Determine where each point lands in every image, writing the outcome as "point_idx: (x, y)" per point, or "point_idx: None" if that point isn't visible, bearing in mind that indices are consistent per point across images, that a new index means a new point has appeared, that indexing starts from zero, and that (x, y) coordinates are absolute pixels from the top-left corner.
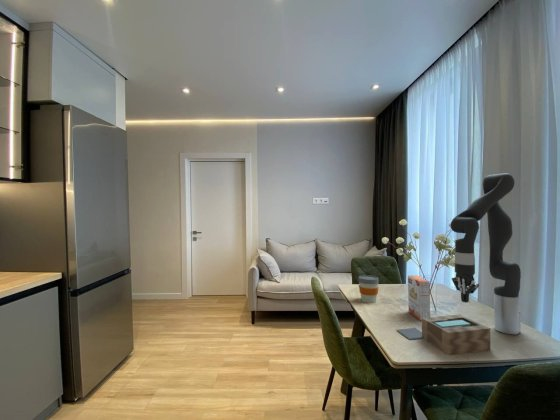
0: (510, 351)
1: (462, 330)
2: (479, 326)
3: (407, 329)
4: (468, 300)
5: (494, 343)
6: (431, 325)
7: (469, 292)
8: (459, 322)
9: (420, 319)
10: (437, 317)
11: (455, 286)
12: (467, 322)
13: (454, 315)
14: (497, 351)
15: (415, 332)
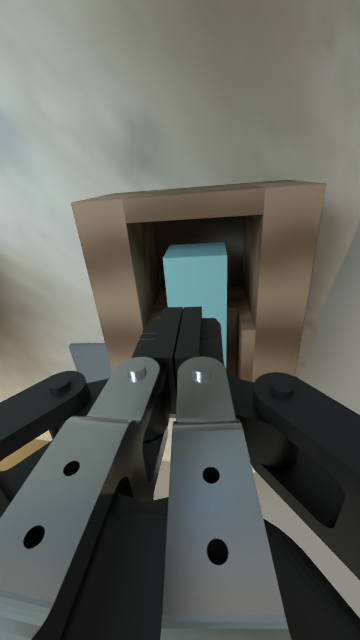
0: (335, 75)
1: (288, 357)
2: (278, 232)
3: (85, 376)
4: (219, 327)
5: (238, 87)
6: None
7: (311, 461)
8: (197, 301)
9: None
10: (119, 357)
11: (24, 475)
12: (205, 257)
13: (89, 250)
14: (309, 156)
15: (109, 366)
